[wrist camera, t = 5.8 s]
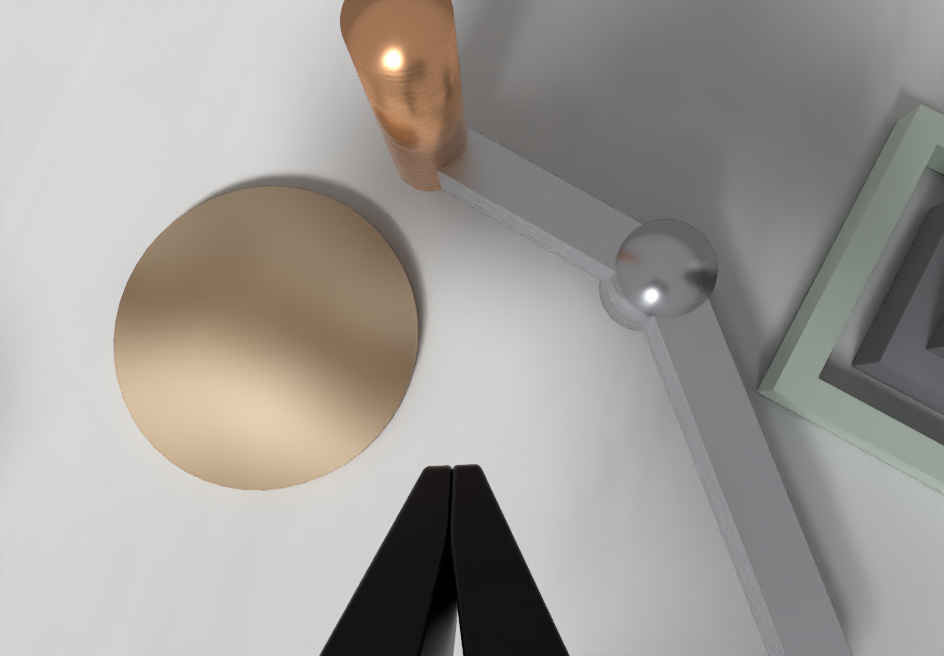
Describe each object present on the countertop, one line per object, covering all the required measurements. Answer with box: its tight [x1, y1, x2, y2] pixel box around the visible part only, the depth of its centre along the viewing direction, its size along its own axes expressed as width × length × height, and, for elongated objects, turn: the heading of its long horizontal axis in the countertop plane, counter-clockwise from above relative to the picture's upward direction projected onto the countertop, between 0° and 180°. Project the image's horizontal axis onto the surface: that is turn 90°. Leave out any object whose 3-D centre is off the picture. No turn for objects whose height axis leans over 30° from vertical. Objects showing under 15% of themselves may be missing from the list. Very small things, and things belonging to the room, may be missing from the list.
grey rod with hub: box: [340, 0, 853, 656], centre depth 16 cm, size 21×8×8 cm, turn 19°
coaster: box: [114, 186, 419, 490], centre depth 21 cm, size 10×10×1 cm
